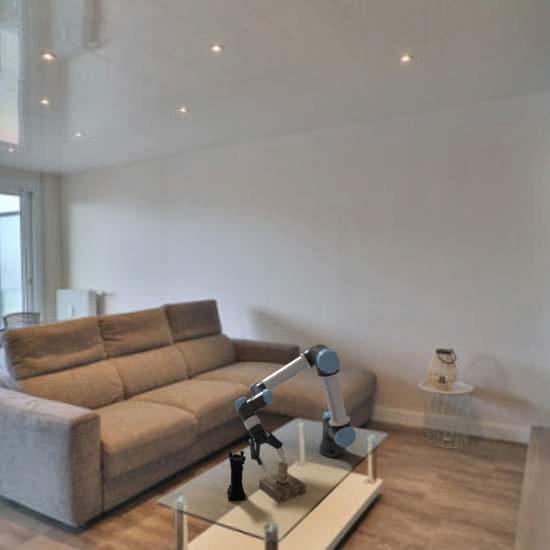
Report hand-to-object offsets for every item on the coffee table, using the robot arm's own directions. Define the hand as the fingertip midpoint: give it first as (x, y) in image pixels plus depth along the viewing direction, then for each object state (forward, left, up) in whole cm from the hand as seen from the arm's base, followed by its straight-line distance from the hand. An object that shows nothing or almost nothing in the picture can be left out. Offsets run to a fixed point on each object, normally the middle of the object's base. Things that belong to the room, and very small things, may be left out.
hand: (275, 465), depth 231 cm
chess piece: (+20, -4, -11) cm, 23 cm away
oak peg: (-1, +4, -11) cm, 12 cm away
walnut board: (-1, +4, -11) cm, 12 cm away
